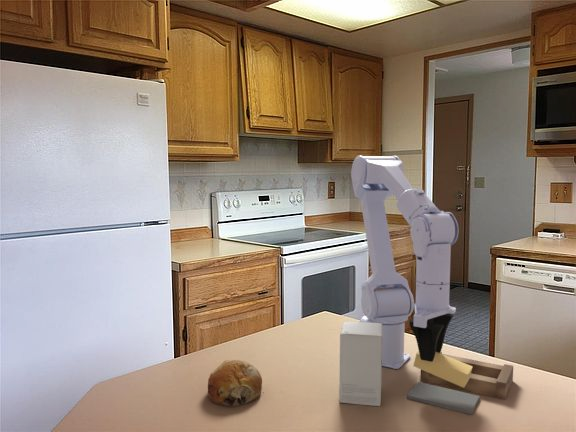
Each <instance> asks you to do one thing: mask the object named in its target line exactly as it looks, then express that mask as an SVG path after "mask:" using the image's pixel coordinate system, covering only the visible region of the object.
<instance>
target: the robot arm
mask: <svg viewBox="0 0 576 432" xmlns="http://www.w3.org/2000/svg"><path fill="white" fill-rule="evenodd" d="M350 177H351V181H352V189H353V190H352V191H353V193H354V197H356V198H357V199H359V200H360V205H361V210H362V211H361V213H362V218H363V224H364V230H365V237H366V244H367V251H368V256H369V263H370V269H371V275H370V276H369V277H368V278H366V280H365V281H364V282H363V283H362V285H361V298H360V299H361V301H360V302H361V308H362V309H361V310H362V313H363V316H361V318H360V320H359V322H367V323H382V367H385V368H389V369H394V370H399V369H400V368H401V367H402V366H403V365H404V364H405V363H406V362H407V361H408V360H409V359H410V358H411V355H410V354H409V353H405V324H406V323H405V322H407V321H408V320H409V316H411V315H412V314H413V311H414V315H413V317H412V318H411V319H410V320H409V321H408V322H409V327H410V329H411V330H412V332H413V335H414V337H415V340H416V345H417V347H418V348H417V349H418V351H419V354H420V358H421V360H425V361H430V362H432V361H433V360H434V357H435V353H436V352H438V353H440V352H442V350H443V349H442V348H443V344H444V341H445V338H446V332H447V330H448V328H449V325H450V322H451V321H452V319H453V318H454V314H455V313H456V312H457V307H454V306H451V305H450V289H451V288H450V287H451V284H450V283H451V281H450V280H451V254H452V253H451V248H452V245H454V244H456V242H457V241H458V238H459V231H460V230H459V228H460V227H459V224H458V221H457V219H456V216H455V215H454V214H453V212H450V211H444V210H440V209H439V208H438V207H437V206H436V205H435V203H434V202H433V201H432V200H431V199H430V198H429V197H428V195H427V194H426V192H425V191H424V190H423V189H422V188H414V187H413V186H412V184H411V183H410V181H409V180H408V178H407V177H406V176H405V174H404V163H403V161H402V160H401V158H400V157H399V156H398V155H392V156H380V155H379V156H374V155H373V156H368V155H367V156H363V155H357V156H356V157H355V158H354V159H353V162H352V165H351V171H350ZM393 196H394V197H395V199H397V203H396V207H397V209H398V211H399V213H400V214H401V216H402V217H403V218H404V219H405V221H406V222H407V224H408V225H409V226H410V229H409V232H410V238H411V241H412V244H413V254H414V255H415V256H416V261H415V262H416V266H415V267H416V268H415V300H414V295H413V293H412V291H411V289H410V286H409V281H408V280H407V278H406V277H404V276H402V275H401V274H399V273H398V272H397V271H396V265H395V260H394V254H393V248H392V241H391V236H390V229H389V225H388V219H387V213H386V208H385V201H386V200H387V199H389V198H390V197H393Z"/></svg>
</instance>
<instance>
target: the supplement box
mask: <svg viewBox="0 0 576 432" xmlns="http://www.w3.org/2000/svg"><path fill="white" fill-rule="evenodd" d="M382 373H383V366H382V323H367V322H360V321H343V322H342V325H341V329H340V333H339V385H338V386H339V389H338V390H339V391H338V392H339V393H338V394H339V398H338V402H339V403H342V404H353V405H362V406H373V407H374V406H375V407H380V406H381V403H382V402H381V400H382V380H383V379H382V376H383V375H382Z"/></svg>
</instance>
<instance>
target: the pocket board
mask: <svg viewBox="0 0 576 432" xmlns="http://www.w3.org/2000/svg"><path fill="white" fill-rule="evenodd" d="M440 353H441V354H443V355H446V356H448V357H451V358H453V359H456V360H458V361H460V362H463V363H465V364H468V365H470V366H473V368H472V371H471V375H470V378H469V381H468V382H467V384H466V385H465V387H464V388H463V387H461V386H458V385H456V384H454V383H451V382H449V381H447V380H445V379H442V378H440V377H438V376H435V375H433V374H431V373H428V372H426V371H424V370H421V369H420V376H419V378H420V381H423V382H428V383H432V384H435V385H441V386H445V387H449V388H453V389H459V390H462V391H466V392H471V393H475V394H478V395H484V396H488V397H493V398H497V399H500V400H501V399H502V400H506V399H507V396H508V393H509V391H510V389H511V386H512V385H513V384H512V383H513V380H514V379H513V378H514V365H511V364H506V363H504V364H503V365H500V364H495V363H491V362H487V361H486V362H485V361H481V360H474V359H470V358H464V357H460V356H455V355H449V354H446V353H443V352H442V351H441V352H440Z"/></svg>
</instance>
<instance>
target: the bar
mask: <svg viewBox="0 0 576 432" xmlns="http://www.w3.org/2000/svg"><path fill="white" fill-rule="evenodd" d="M443 354H444V353H442V354H441V353H438V352H436V353H435V357H434V360H433V361H432V362H430V361H425V360H421V358H420V354H419V350H417V352H416V354H415V358H414V362H413V367H415V368H417V369H419V370H420V371H421V370H424V371H426V372H428V373H431V374H433V375H435V376H438V377H440V378H442V379H445V380H447V381H449V382H451V383H454V384H456V385H458V386H461V387H463V388H464V387H465V385H466V384H467V382H468V381H469V378H470V375H471V371H472V368H473V366H470V365H468V364H465V363H463V362H460V361H458V360H456V359H453V358H451V357H448V356H446V355H447V354H446V355H443Z"/></svg>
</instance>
